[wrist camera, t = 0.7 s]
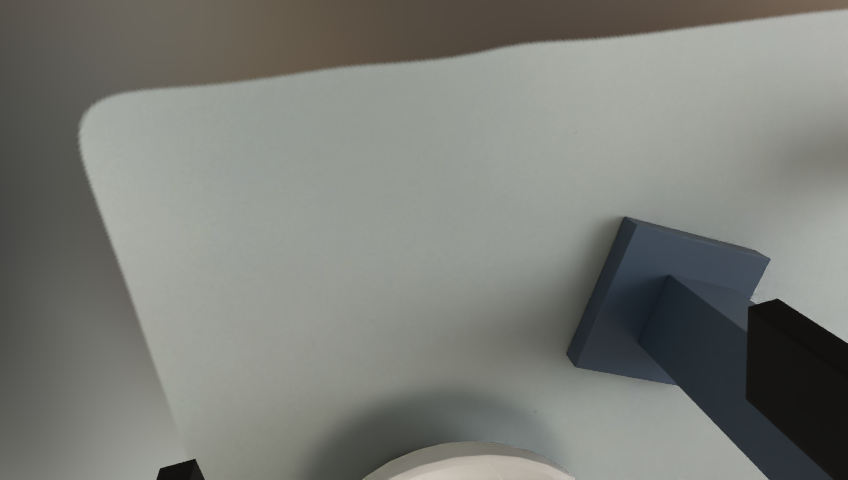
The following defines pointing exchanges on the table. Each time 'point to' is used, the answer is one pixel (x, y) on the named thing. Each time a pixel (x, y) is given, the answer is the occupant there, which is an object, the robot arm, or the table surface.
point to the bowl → (470, 464)
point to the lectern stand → (686, 332)
